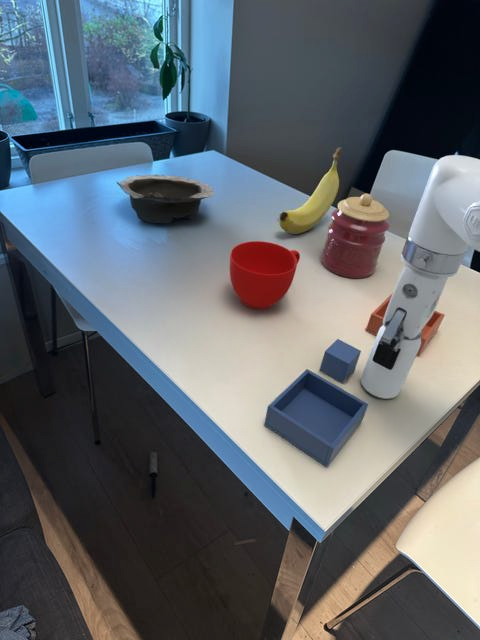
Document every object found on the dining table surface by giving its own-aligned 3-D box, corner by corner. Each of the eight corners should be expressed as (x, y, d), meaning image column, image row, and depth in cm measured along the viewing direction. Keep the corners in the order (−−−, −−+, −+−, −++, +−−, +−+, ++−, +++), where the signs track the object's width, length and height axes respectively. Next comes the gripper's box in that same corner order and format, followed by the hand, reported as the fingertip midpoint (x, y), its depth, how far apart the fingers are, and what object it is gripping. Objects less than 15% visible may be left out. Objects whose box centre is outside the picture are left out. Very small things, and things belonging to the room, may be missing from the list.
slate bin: (361, 422, 68) (368, 404, 65) (327, 467, 61) (333, 449, 58) (302, 386, 73) (306, 368, 70) (263, 425, 66) (267, 406, 63)
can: (403, 384, 76) (429, 327, 69) (392, 406, 71) (419, 347, 64) (367, 368, 78) (388, 311, 71) (354, 388, 73) (376, 329, 66)
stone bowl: (138, 237, 107) (135, 199, 102) (109, 204, 125) (105, 170, 119) (229, 223, 117) (231, 188, 112) (191, 194, 135) (190, 162, 130)
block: (354, 370, 77) (361, 350, 74) (342, 383, 74) (349, 363, 71) (331, 357, 79) (337, 338, 76) (319, 370, 76) (324, 350, 73)
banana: (286, 244, 112) (301, 164, 100) (269, 235, 115) (281, 157, 103) (335, 221, 127) (353, 149, 115) (318, 214, 130) (334, 143, 118)
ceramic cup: (314, 299, 94) (324, 257, 88) (255, 327, 84) (262, 282, 78) (271, 271, 101) (278, 231, 95) (212, 294, 91) (216, 251, 85)
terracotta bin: (437, 331, 89) (444, 314, 86) (418, 356, 82) (426, 339, 79) (387, 308, 94) (393, 292, 91) (365, 330, 87) (371, 313, 84)
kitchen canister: (358, 286, 100) (381, 211, 89) (310, 263, 106) (326, 191, 95) (384, 266, 108) (407, 197, 97) (338, 246, 114) (355, 178, 104)
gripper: (439, 289, 52) (392, 395, 63) (477, 243, 64) (432, 339, 75) (380, 265, 56) (345, 369, 67) (427, 225, 67) (390, 319, 78)
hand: (391, 352), depth 71 cm, fingers closed on can, 6 cm apart
